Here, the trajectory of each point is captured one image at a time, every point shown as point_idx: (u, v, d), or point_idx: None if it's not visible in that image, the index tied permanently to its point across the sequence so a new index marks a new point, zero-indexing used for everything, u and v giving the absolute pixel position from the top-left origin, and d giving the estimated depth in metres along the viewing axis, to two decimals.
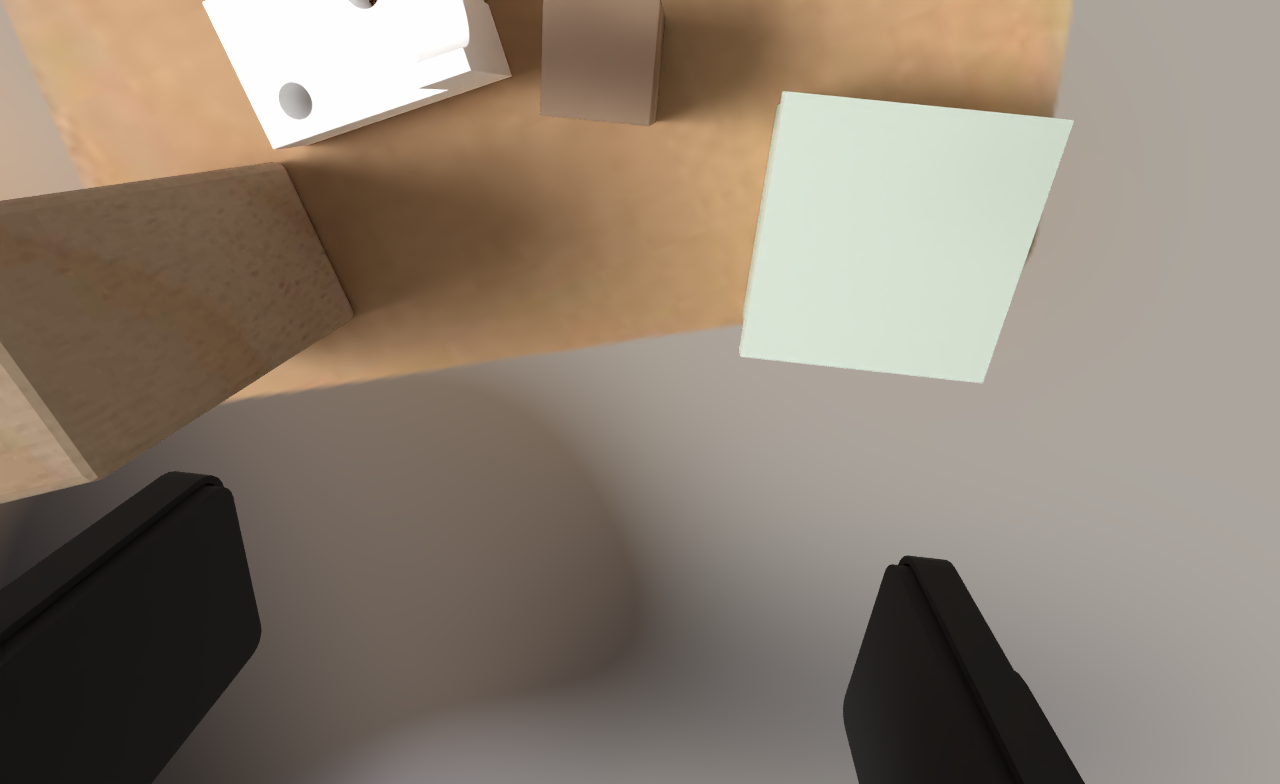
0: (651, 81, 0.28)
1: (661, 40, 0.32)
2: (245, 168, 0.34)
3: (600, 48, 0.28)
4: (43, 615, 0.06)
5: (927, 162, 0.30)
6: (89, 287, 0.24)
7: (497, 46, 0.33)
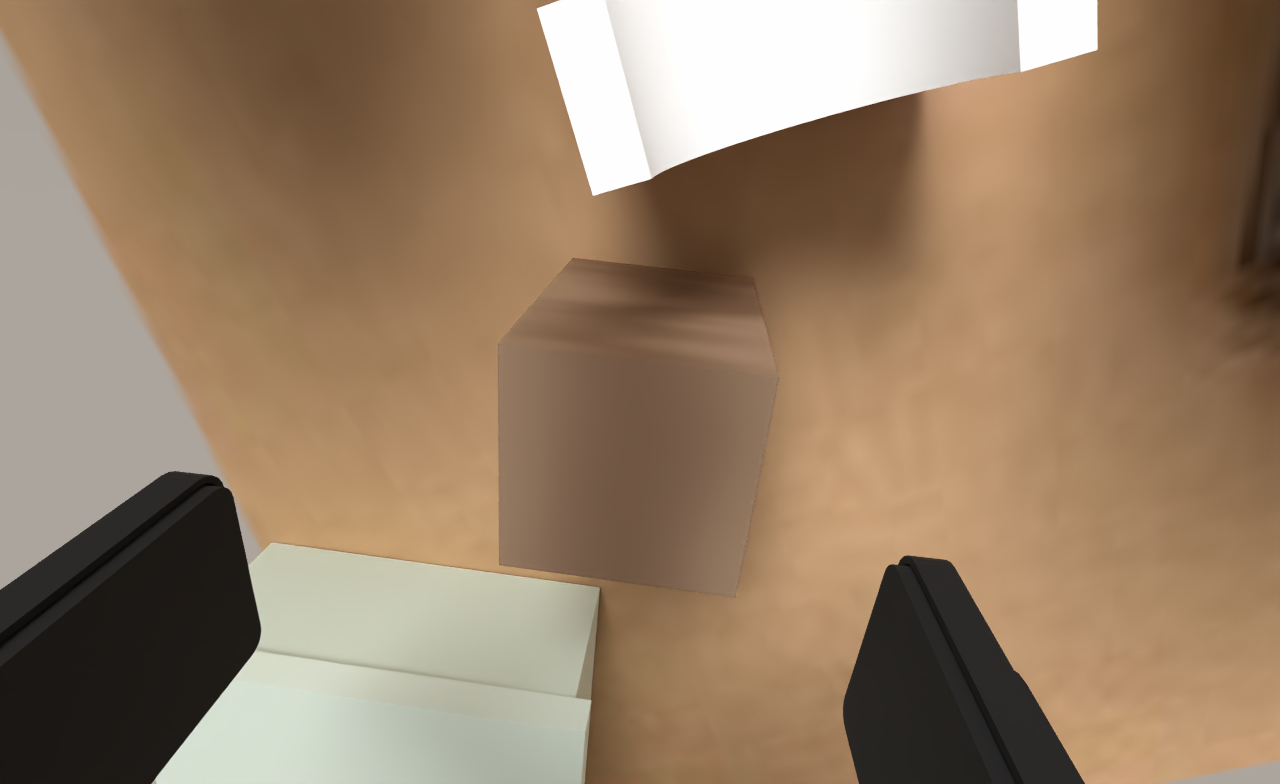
0: (584, 575, 0.13)
1: None
2: None
3: (646, 486, 0.12)
4: (43, 615, 0.06)
5: None
6: None
7: None
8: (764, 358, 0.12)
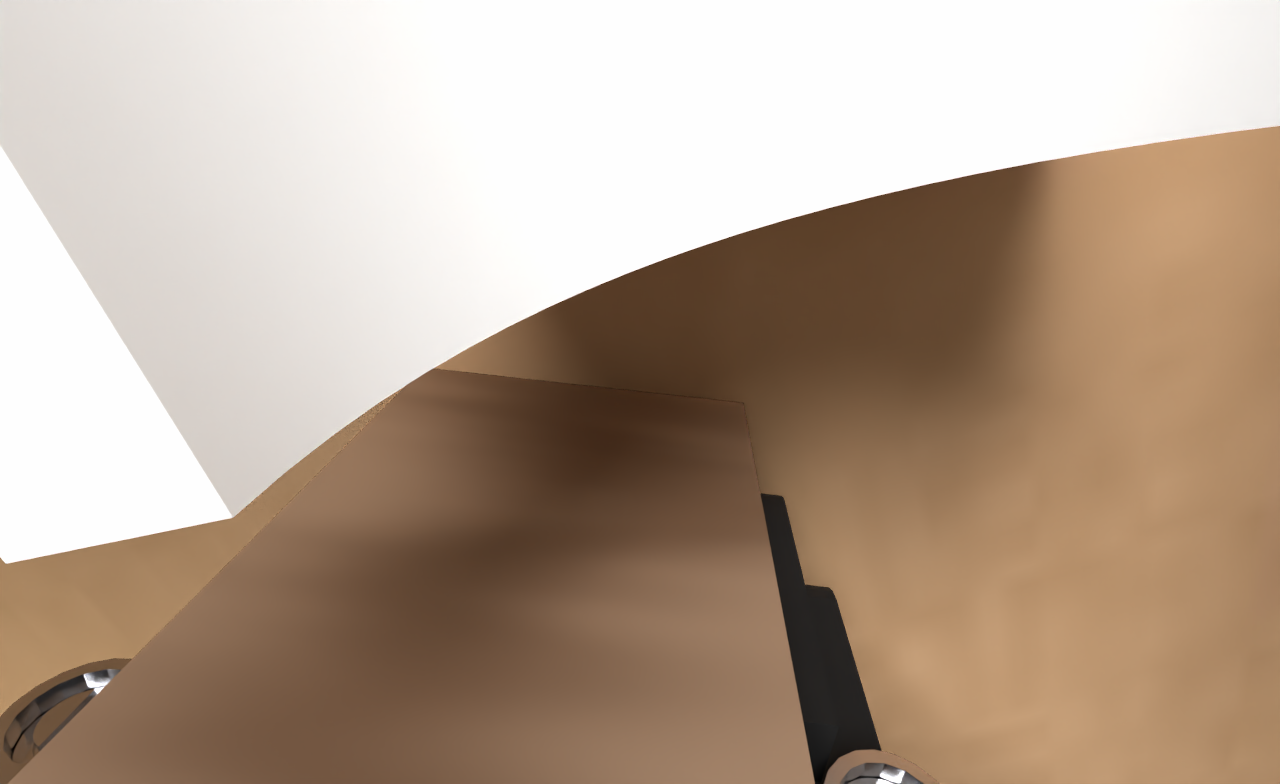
0: None
1: None
2: None
3: None
4: None
5: None
6: None
7: None
8: None
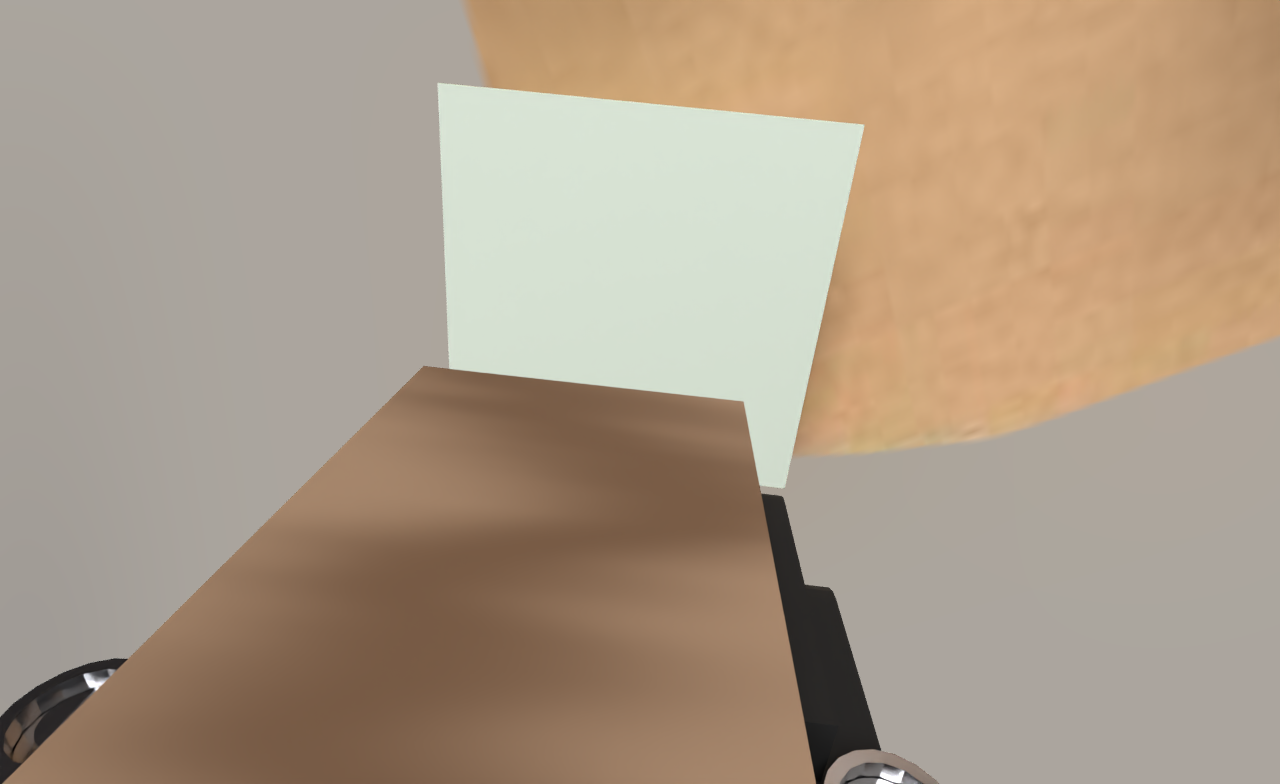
0: None
1: None
2: None
3: None
4: None
5: (747, 338, 0.22)
6: None
7: None
8: None
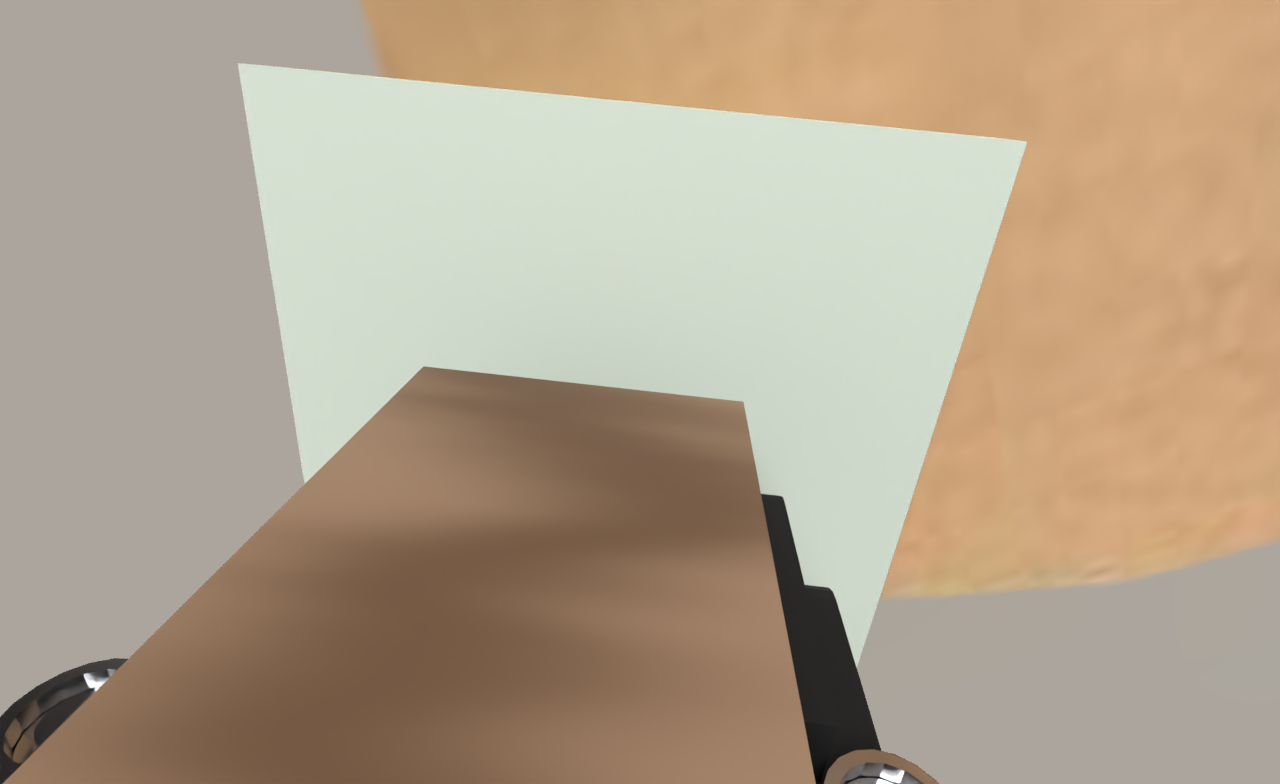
0: None
1: None
2: None
3: None
4: None
5: (794, 493, 0.13)
6: None
7: None
8: None
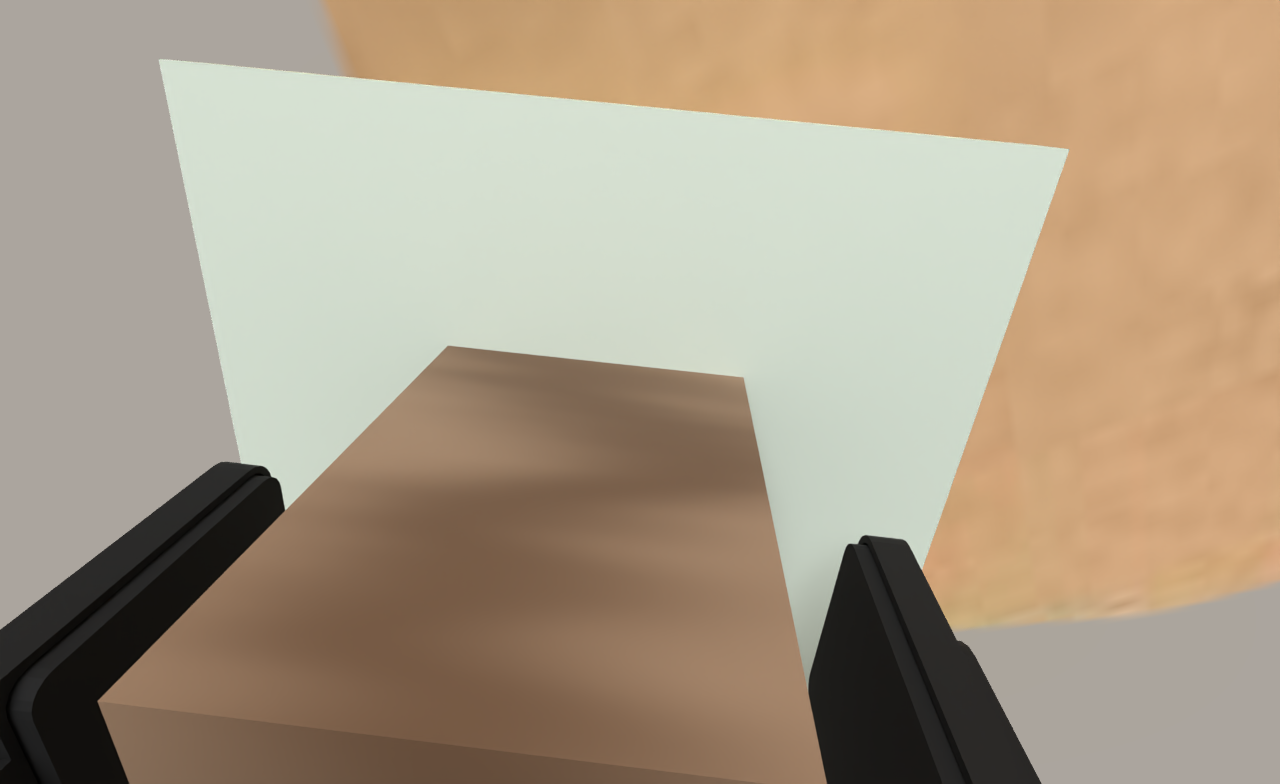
0: None
1: None
2: None
3: None
4: (118, 595, 0.07)
5: (799, 539, 0.12)
6: None
7: None
8: (783, 682, 0.05)
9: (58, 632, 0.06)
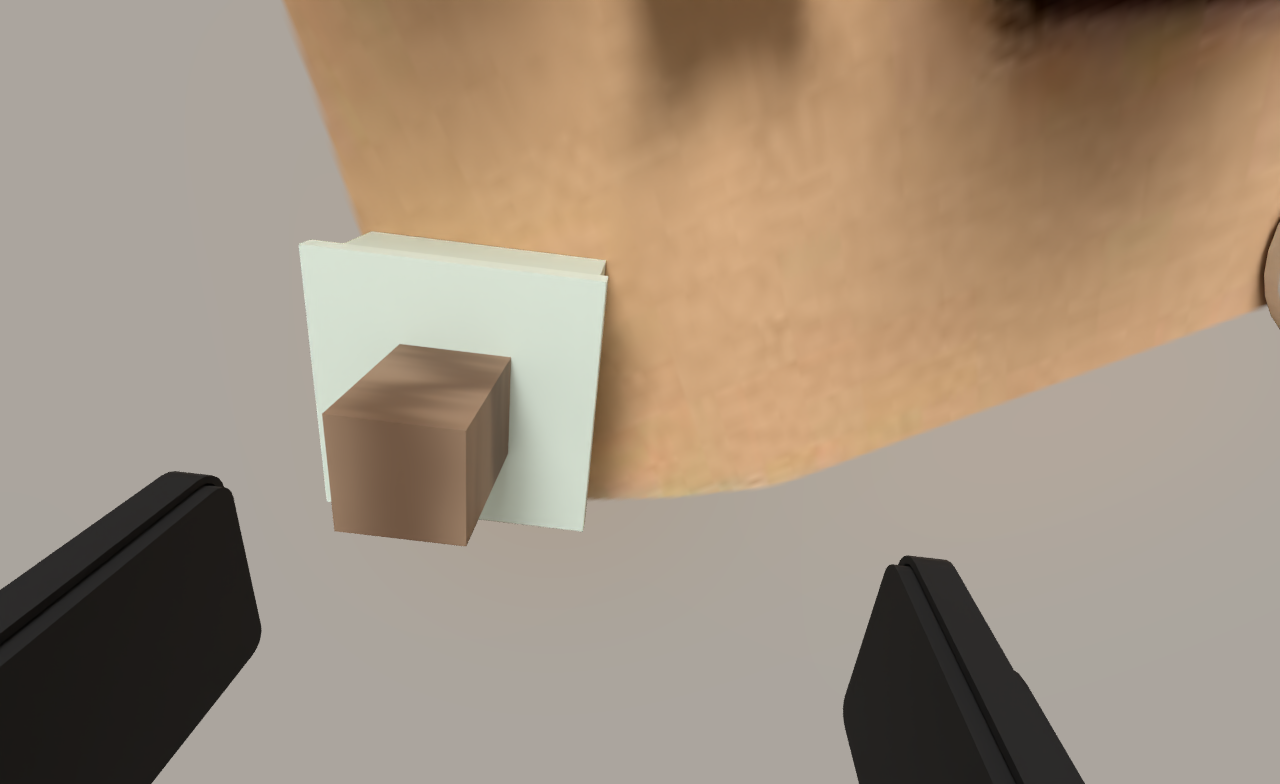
0: (382, 535, 0.24)
1: None
2: None
3: (409, 486, 0.23)
4: (43, 615, 0.06)
5: (541, 423, 0.30)
6: None
7: None
8: (467, 419, 0.23)
9: None
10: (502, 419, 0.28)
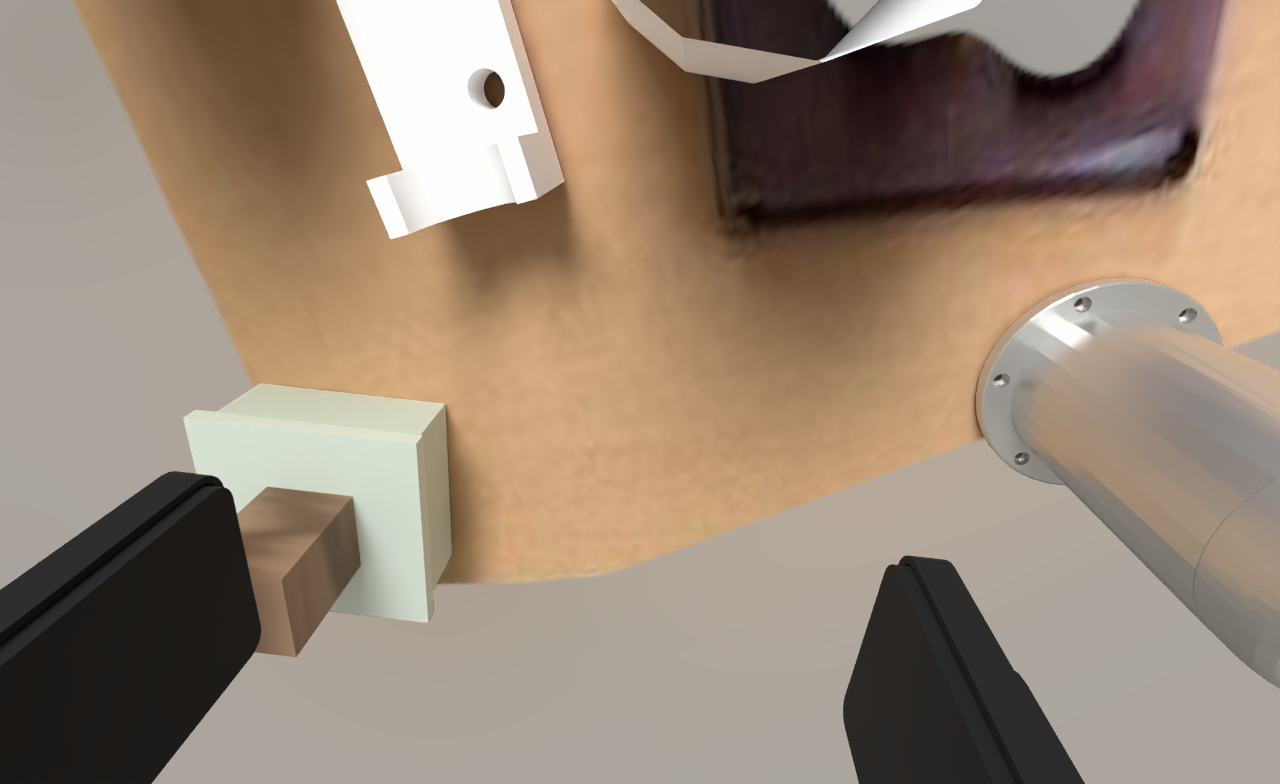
0: None
1: None
2: None
3: None
4: (43, 615, 0.06)
5: (383, 543, 0.38)
6: None
7: None
8: (288, 567, 0.31)
9: None
10: (345, 545, 0.36)
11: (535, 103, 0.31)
